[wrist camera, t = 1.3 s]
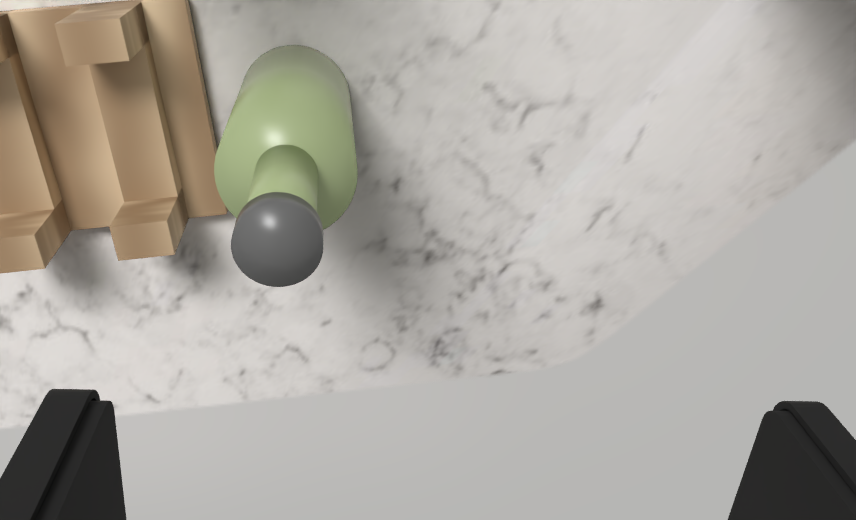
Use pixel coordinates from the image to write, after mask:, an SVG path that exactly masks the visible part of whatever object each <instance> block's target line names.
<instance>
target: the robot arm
mask: <svg viewBox="0 0 856 520" xmlns="http://www.w3.org/2000/svg"><path fill="white" fill-rule="evenodd" d="M0 520H126V513H125V505H124V495H123V487H122V477H121V468H120V460H119V450H118V441H117V433H116V424H115V414H114V407H113V404H112V402H111V401H100V398H99V394H98V392H97V391H96V390H80V389H52V390H50V391H49V392H48V393H47V395H46V396H45V398H44V400H43V402H42V404H41V405H40V407H39V409H38V411H37V413H36V415H35V416H34V418H33V420H32V422H31V424H30V425H29V427H28V429H27V431H26V433H25V435H24V436H23V438H22V440H21V442H20V444H19V445H18V447H17V449H16V451H15V453H14V455H13V457H12V458H11V460H10V462H9V464H8V465H7V467H6V469H5V471H4V473H3V475H2V476H1V478H0ZM728 520H856V440H855V439H854V438H853V437H852V436H851V434H850V433H849V432H848V431H847V430H846V428H845V427H844V426H843V425H842V424H841V423H840V421H839V420H838V419H837V418H836V417H835V416H834V415H833V413H832V412H831V411H830V410H829V409H828V407H826V406H825V405H824V404H823V403H820V402H808V401H805V402H803V401H782V402H779V403H778V404H777V405H776V406H775V407H774V409H773V411H768V412H767V413H766V414H765V415H764V417H763V419H762V421H761V424H760V427H759V431H758V433H757V436H756V439H755V442H754V445H753V448H752V451H751V454H750V456H749V459H748V462H747V465H746V468H745V471H744V474H743V477H742V480H741V483H740V486H739V489H738V491H737V494H736V497H735V500H734V503H733V506H732V509H731V512H730V515H729V518H728Z"/></svg>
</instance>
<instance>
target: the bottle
mask: <svg viewBox="0 0 856 520" xmlns="http://www.w3.org/2000/svg"><path fill="white" fill-rule="evenodd" d="M214 175H215V182H216V186H217V190H218V192H219V195H220V197H221V199H222V201H223V202H224V204H225V206H226V207H227V208H228V210H229V211H230V212H231V213H232V214H233V215H234V216H235V217H236V218H237V219H236V223H235V227H234V231H233V235H232V240H231V250H232V254H233V258H234V260H235V262H236V264H237V266H238V267H239V268H240V270H241V271H242V272H243V273H244V274H245V275H246V276H248V277H249V278H250V279H252V280H254V281H256V282H258V283H260V284H263V285H267V286H273V287H284V286H290V285H293V284H296V283H299V282H301V281H303V280H304V279H306V278H307V277H308V276H310V275H311V274H312V273H313V272H314V271H315V269H316V268H317V266H318V265H319V263H320V260H321V258H322V253H323V230H324V229H325V228H327V227H329V226H330V225H332V224H333V223H334V222H335V221H337V220H338V219H339V218H340V217H341V216H342V214H343V213H344V212H345V211H346V209H347V208H348V206H349V204H350V202H351V201H352V198H353V196H354V193H355V189H356V185H357V161H356V151H355V141H354V131H353V121H352V111H351V101H350V93H349V87H348V84H347V81H346V79H345V77H344V75H343V73H342V72H341V70H340V68H339V67H338V66H337V65H336V64H335V63H334V62H333V61H332V60H331V59H330V58H329V57H327V56H326V55H325V54H323V53H321V52H319V51H318V50H315V49H312V48H310V47H306V46H299V45H287V46H281V47H278V48H274V49H272V50H270V51H268V52H266V53H264V54H263V55H261V56H260V57H259V58H258V59H257V60H256V61H255V62H254V63H253V64H252V65H251V67H250V68H249V70H248V71H247V73H246V76H245V78H244V80H243V83H242V86H241V88H240V91H239V94H238V96H237V99H236V101H235V104H234V107H233V109H232V112H231V115H230V117H229V120H228V123H227V125H226V128H225V131H224V133H223V136H222V138H221V141H220V144H219V146H218V149H217V153H216V156H215V163H214Z"/></svg>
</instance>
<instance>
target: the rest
mask: <svg viewBox="0 0 856 520" xmlns="http://www.w3.org/2000/svg"><path fill="white" fill-rule="evenodd" d="M216 153H217V146H216V141H215V136H214V131H213V125H212V120H211V115H210V110H209V105H208V100H207V95H206V89H205V84H204V79H203V74H202V69H201V64H200V59H199V53H198V48H197V43H196V38H195V33H194V28H193V23H192V17H191V12H190V7H189V2H188V0H128V1H116V2H104V3H92V4H81V5H69V6H57V7H45V8H34V9H22V10H10V11H0V273H9V272H18V271H27V270H36V269H45V268H46V266H47V265H48V263H49V262H50V260H51V259H52V258H53V256H54V255H55V253H56V252H57V250H58V249H59V247H60V246H61V245H62V243H63V242H64V240H65V239H66V237H67V236H68V234H69V233H70V231H71V230H80V229H90V228H99V227H109V226H110V227H109V228H110V231H111V235H112V239H113V243H114V246H115V250H116V254H117V257H118V261H120V260H129V259H138V258H148V257H157V256H166V255H175V252H176V250H177V247H178V245H179V242H180V239H181V237H182V234H183V232H184V229H185V227H186V224H187V221H188V219H189V218H194V217H204V216H214V215H223V214H227V211H228V208H227V207H226V206H225V204H224V202H223V201H222V199H221V197H220V195H219V192H218V190H217V186H216V182H215V175H214V163H215V156H216Z"/></svg>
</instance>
